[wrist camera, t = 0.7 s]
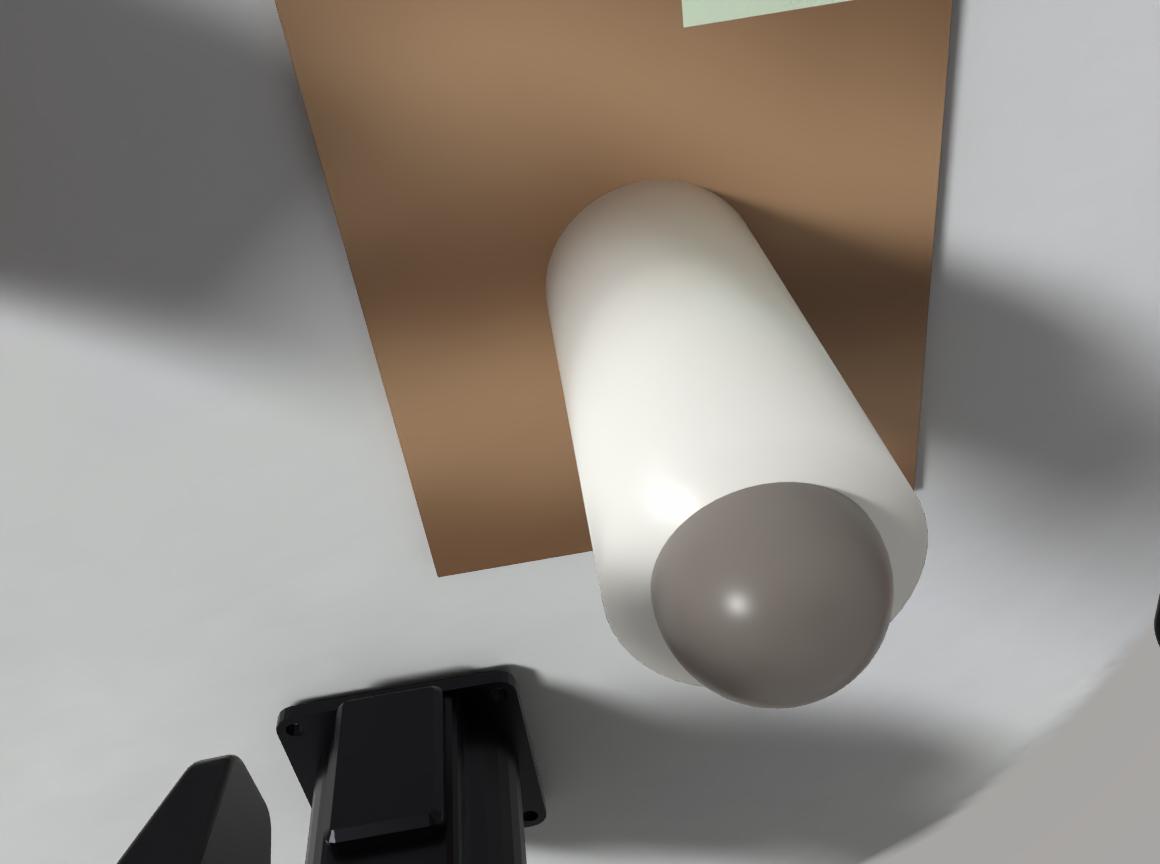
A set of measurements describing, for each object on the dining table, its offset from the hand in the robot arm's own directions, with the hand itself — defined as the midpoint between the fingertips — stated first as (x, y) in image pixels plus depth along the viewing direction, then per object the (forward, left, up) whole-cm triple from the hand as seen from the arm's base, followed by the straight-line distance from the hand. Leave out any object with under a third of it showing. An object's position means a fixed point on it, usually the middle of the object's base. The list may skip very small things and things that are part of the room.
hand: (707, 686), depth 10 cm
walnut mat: (-2, -1, -13) cm, 13 cm away
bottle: (-2, -1, -13) cm, 13 cm away
